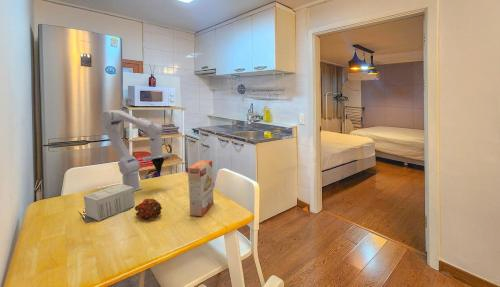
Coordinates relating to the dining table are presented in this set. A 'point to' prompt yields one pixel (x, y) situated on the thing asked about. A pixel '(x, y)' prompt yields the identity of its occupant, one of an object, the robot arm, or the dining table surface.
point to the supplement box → (109, 201)
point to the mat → (89, 219)
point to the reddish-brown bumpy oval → (148, 208)
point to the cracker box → (200, 187)
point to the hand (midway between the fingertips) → (158, 172)
